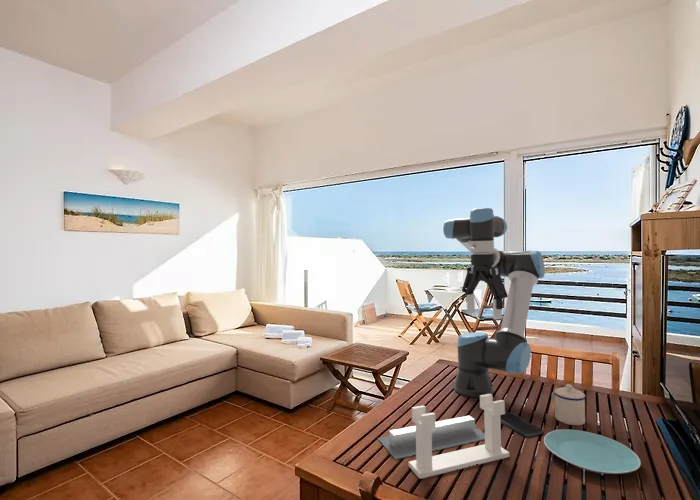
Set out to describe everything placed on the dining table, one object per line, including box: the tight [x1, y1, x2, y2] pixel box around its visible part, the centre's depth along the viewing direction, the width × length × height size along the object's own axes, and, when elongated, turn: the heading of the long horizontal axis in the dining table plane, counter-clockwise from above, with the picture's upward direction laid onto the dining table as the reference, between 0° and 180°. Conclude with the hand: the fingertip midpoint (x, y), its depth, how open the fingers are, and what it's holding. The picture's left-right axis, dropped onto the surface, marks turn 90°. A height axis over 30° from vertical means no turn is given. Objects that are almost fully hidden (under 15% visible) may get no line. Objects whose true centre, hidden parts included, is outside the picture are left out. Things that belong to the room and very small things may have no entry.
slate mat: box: [377, 426, 485, 461], centre depth 113 cm, size 12×32×1 cm, turn 109°
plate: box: [543, 428, 642, 475], centre depth 102 cm, size 22×22×3 cm
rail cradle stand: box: [408, 394, 510, 480], centre depth 101 cm, size 6×28×16 cm, turn 109°
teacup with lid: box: [551, 383, 587, 426], centre depth 125 cm, size 12×9×12 cm
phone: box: [500, 411, 544, 438], centre depth 121 cm, size 8×1×15 cm
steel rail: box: [389, 415, 476, 449], centre depth 113 cm, size 3×28×4 cm, turn 109°
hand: (483, 315), depth 127 cm, fingers open, 13 cm apart
